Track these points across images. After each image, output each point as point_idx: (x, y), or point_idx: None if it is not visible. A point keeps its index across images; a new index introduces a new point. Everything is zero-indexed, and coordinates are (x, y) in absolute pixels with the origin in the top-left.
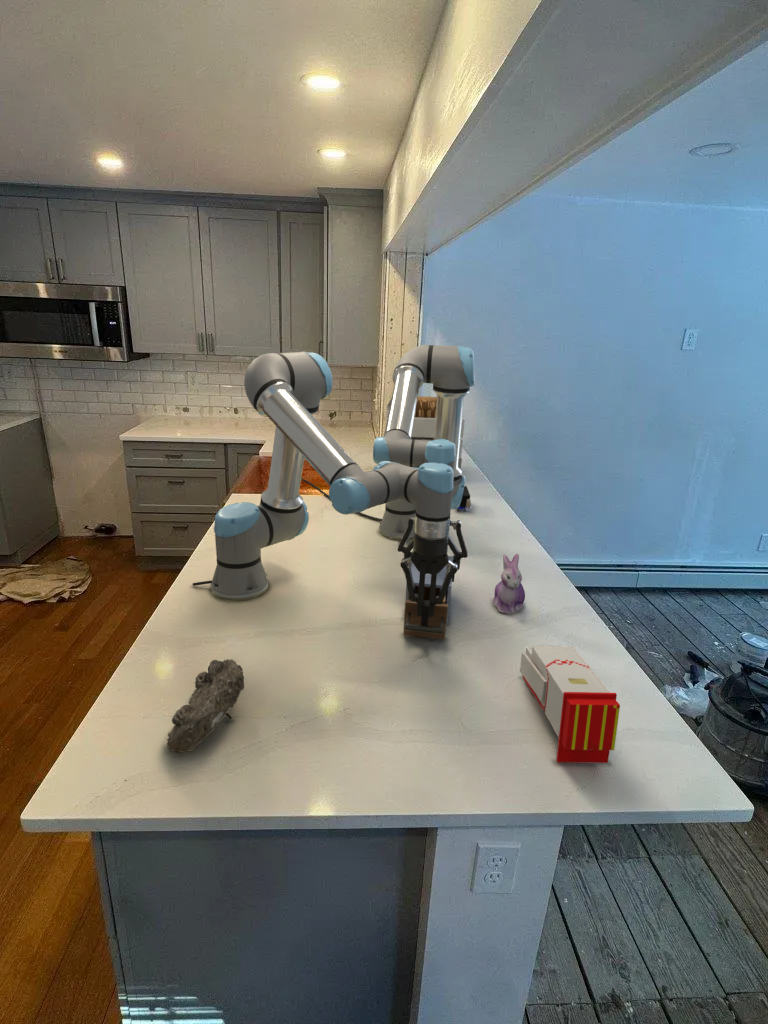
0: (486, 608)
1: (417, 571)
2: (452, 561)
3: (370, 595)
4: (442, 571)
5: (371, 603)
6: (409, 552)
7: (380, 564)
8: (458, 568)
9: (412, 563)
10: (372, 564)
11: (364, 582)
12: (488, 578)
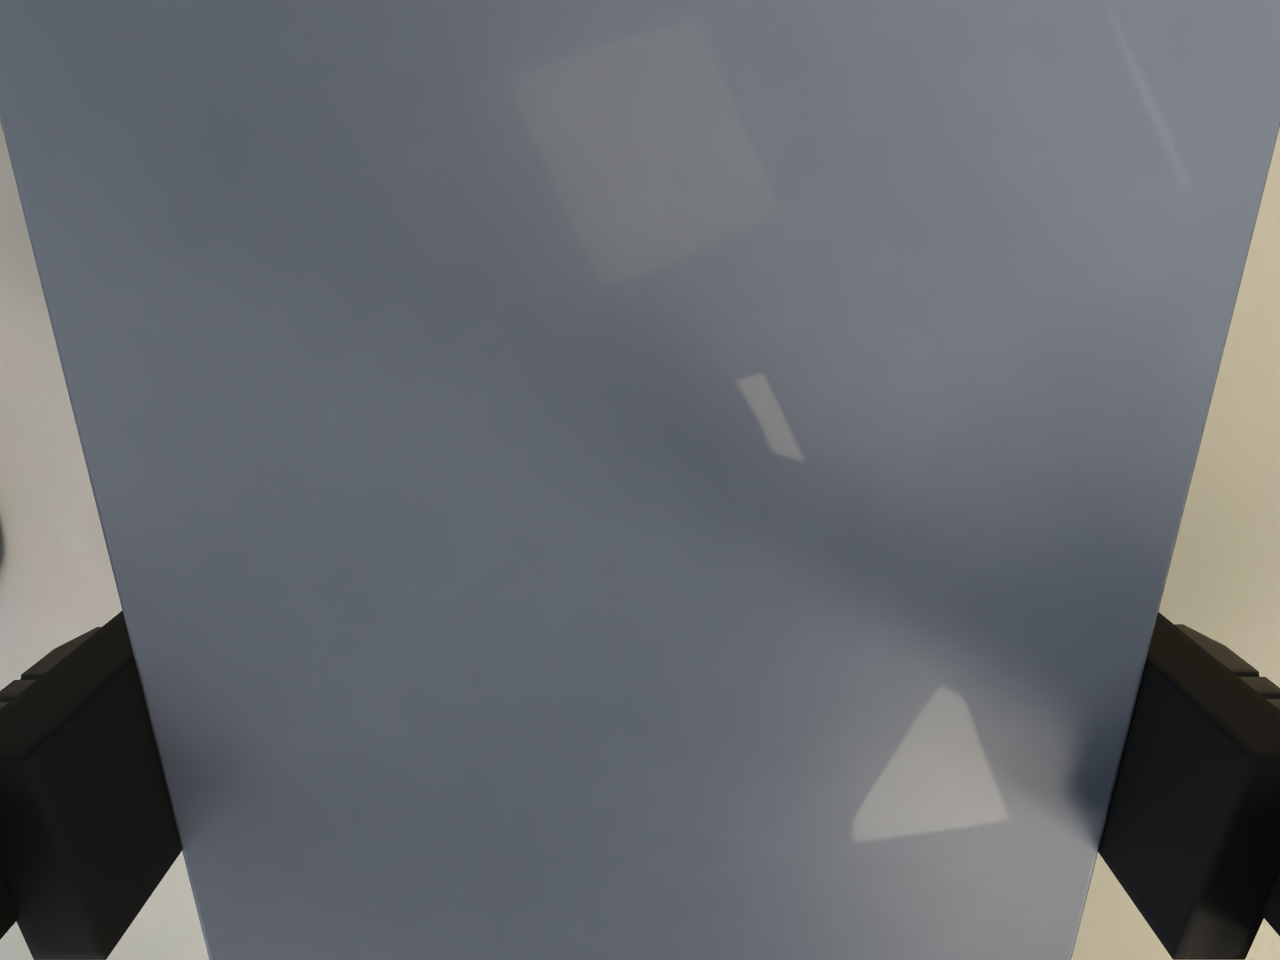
0: (38, 379)
1: (1027, 85)
2: (174, 796)
3: (1251, 403)
4: (306, 256)
5: (1266, 226)
6: (1249, 915)
7: (1082, 948)
8: (79, 644)
9: (1119, 536)
10: (1152, 938)
11: (1273, 642)
12: (160, 898)
